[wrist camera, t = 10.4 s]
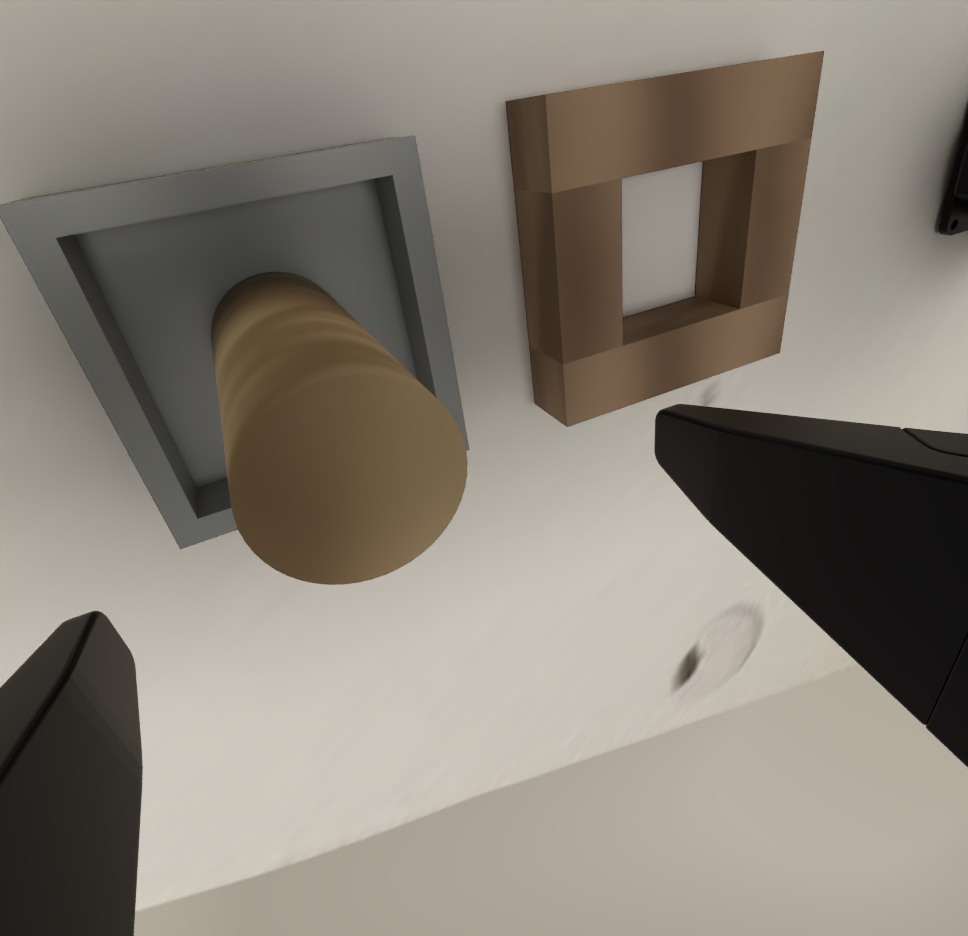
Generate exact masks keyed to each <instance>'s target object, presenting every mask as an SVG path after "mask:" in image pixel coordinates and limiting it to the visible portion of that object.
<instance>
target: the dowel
mask: <svg viewBox="0 0 968 936" xmlns="http://www.w3.org/2000/svg"><path fill="white" fill-rule="evenodd" d="M211 341H212V350H213V358H214V367H215V375H216V384H217V392H218V401H219V409H220V418H221V426H222V435H223V443H224V452H225V460H226V469H227V477H228V486H229V494H230V502H231V507H232V513H233V517H234V520H235V522H236V525H237V528H238V530H239V532H240V534H241V535H242V537H243V539H244V541H245V542H246V543H247V545H248V546H249V547H250V548H251V550H252V551H253V552H254V553H255V554H256V555H257V556H258V557H259V558H260V559H262V560H263V561H264V562H265V563H267V564H268V565H269V566H271V567H272V568H274V569H275V570H277V571H279V572H281V573H283V574H285V575H287V576H290V577H293V578H296V579H299V580H302V581H307V582H312V583H318V584H329V585H332V584H350V583H357V582H362V581H366V580H371V579H374V578H377V577H380V576H383V575H386V574H388V573H390V572H392V571H394V570H396V569H399V568H400V567H402V566H404V565H405V564H407V563H409V562H411V561H412V560H413V559H415V558H416V557H418V556H419V555H420V554H422V553H423V552H424V551H425V550H426V549H427V548H428V547H430V546H431V545H432V544H433V543H434V542H435V541H436V539H437V538H438V537H439V536H440V535H441V534H442V533H443V531H444V530H445V528H446V527H447V526H448V524H449V523H450V521H451V519H452V518H453V516H454V514H455V513H456V511H457V508H458V506H459V504H460V501H461V499H462V495H463V492H464V488H465V483H466V477H467V455H466V448H465V444H464V440H463V437H462V434H461V432H460V429H459V427H458V425H457V423H456V422H455V420H454V418H453V417H452V415H451V414H450V412H449V411H448V410H447V409H446V408H445V406H444V405H443V404H442V403H441V402H440V401H439V400H438V399H437V398H436V397H435V396H434V395H433V394H432V393H431V392H430V391H428V390H427V389H426V388H425V387H424V386H423V385H422V384H421V383H420V382H419V381H418V380H417V379H416V378H415V377H414V376H413V375H412V374H411V373H410V372H409V371H408V370H407V369H406V368H405V367H404V366H403V365H402V364H401V363H399V362H398V361H397V360H396V359H395V358H394V357H393V356H392V355H391V354H390V353H389V352H388V351H387V350H386V349H385V348H384V347H383V346H382V345H381V344H380V343H379V342H378V341H377V340H376V339H375V338H374V337H373V336H372V335H370V334H369V333H368V332H367V331H366V330H365V329H364V328H363V327H362V326H361V325H360V324H359V323H358V322H357V321H356V320H355V319H354V318H353V317H352V316H351V315H350V314H349V313H348V312H347V311H346V310H345V309H344V308H343V307H341V306H340V305H339V304H338V303H337V302H336V301H335V300H334V299H333V298H332V297H331V296H330V295H329V294H328V293H327V292H326V291H325V290H324V289H322V288H321V287H320V286H318V285H317V284H316V283H314V282H312V281H310V280H309V279H307V278H304V277H302V276H299V275H296V274H292V273H287V272H266V273H260V274H256V275H253V276H250V277H248V278H246V279H244V280H242V281H240V282H239V283H237V284H236V285H234V286H233V287H232V288H231V289H230V290H229V291H228V292H227V293H226V294H225V295H224V296H223V298H222V299H221V301H220V302H219V304H218V306H217V308H216V310H215V313H214V316H213V320H212V326H211Z"/></svg>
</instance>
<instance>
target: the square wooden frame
mask: <svg viewBox="0 0 968 936" xmlns="http://www.w3.org/2000/svg"><path fill="white" fill-rule="evenodd" d="M823 56H824V51H820V52H814V53H807V54H801V55H795V56H788V57H782V58H775V59H769V60H763V61H756V62H750V63H744V64H737V65H731V66H724V67H718V68H712V69H705V70H699V71H693V72H686V73H680V74H674V75H667V76H661V77H654V78H648V79H642V80H635V81H629V82H623V83H616V84H610V85H603V86H597V87H591V88H584V89H578V90H572V91H565V92H559V93H553V94H546V95H540V96H535V97H529V98H523V99H517V100H512V101H506V107H507V117H508V128H509V138H510V148H511V159H512V169H513V179H514V190H515V200H516V210H517V221H518V231H519V241H520V252H521V262H522V273H523V283H524V293H525V304H526V314H527V324H528V335H529V345H530V355H531V366H532V376H533V386H534V397H535V404H536V405H537V406H539V407H540V408H542V409H543V410H544V411H546V412H547V413H548V414H550V415H551V416H553V417H554V418H555V419H557V420H558V421H559V422H561V423H562V424H564V425H565V426H566V427H569V426H572V425H575V424H578V423H580V422H583V421H586V420H589V419H592V418H595V417H598V416H600V415H603V414H606V413H609V412H612V411H615V410H618V409H620V408H623V407H626V406H629V405H632V404H635V403H638V402H640V401H643V400H646V399H649V398H652V397H655V396H658V395H660V394H663V393H666V392H669V391H672V390H675V389H678V388H680V387H683V386H686V385H689V384H692V383H695V382H698V381H700V380H703V379H706V378H709V377H712V376H715V375H718V374H720V373H723V372H726V371H729V370H732V369H735V368H738V367H740V366H743V365H746V364H749V363H752V362H755V361H758V360H760V359H763V358H766V357H769V356H772V355H775V354H778V353H780V348H781V341H782V334H783V327H784V321H785V314H786V307H787V300H788V293H789V287H790V280H791V273H792V266H793V259H794V253H795V246H796V239H797V232H798V226H799V219H800V212H801V205H802V198H803V192H804V185H805V178H806V171H807V164H808V158H809V151H810V144H811V137H812V130H813V124H814V117H815V110H816V103H817V97H818V90H819V83H820V76H821V69H822V63H823ZM701 161H703V177H702V193H701V209H700V226H699V242H698V258H697V275H696V291H695V297H692V298H688V299H685V300H682V301H678V302H675V303H672V304H668V305H665V306H661V307H658V308H655V309H651V310H648V311H645V312H641V313H638V314H635V315H631V316H628V317H624V318H622V178H626V177H630V176H635V175H640V174H645V173H649V172H654V171H659V170H663V169H668V168H673V167H677V166H682V165H687V164H691V163H696V162H701Z"/></svg>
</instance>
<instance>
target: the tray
mask: <svg viewBox="0 0 968 936" xmlns="http://www.w3.org/2000/svg"><path fill="white" fill-rule="evenodd" d="M0 218H1V220H2V222H3V224H4V226H5V227H6V229H7V231H8V233H9V235H10V237H11V238H12V240H13V242H14V244H15V246H16V248H17V250H18V251H19V253H20V255H21V257H22V259H23V261H24V262H25V264H26V266H27V268H28V270H29V272H30V273H31V275H32V277H33V279H34V281H35V283H36V284H37V286H38V288H39V290H40V292H41V294H42V296H43V297H44V299H45V301H46V303H47V305H48V307H49V308H50V310H51V312H52V314H53V316H54V318H55V319H56V321H57V323H58V325H59V327H60V329H61V331H62V332H63V334H64V336H65V338H66V340H67V342H68V343H69V345H70V347H71V349H72V351H73V353H74V354H75V356H76V358H77V360H78V362H79V364H80V365H81V367H82V369H83V371H84V373H85V375H86V377H87V378H88V380H89V382H90V384H91V386H92V388H93V389H94V391H95V393H96V395H97V397H98V399H99V400H100V402H101V404H102V406H103V408H104V410H105V411H106V413H107V415H108V417H109V419H110V421H111V423H112V424H113V426H114V428H115V430H116V432H117V434H118V435H119V437H120V439H121V441H122V443H123V445H124V446H125V448H126V450H127V452H128V454H129V456H130V458H131V459H132V461H133V463H134V465H135V467H136V469H137V470H138V472H139V474H140V476H141V478H142V480H143V481H144V483H145V485H146V487H147V489H148V491H149V492H150V494H151V496H152V498H153V500H154V502H155V504H156V505H157V507H158V509H159V511H160V513H161V515H162V516H163V518H164V520H165V522H166V524H167V526H168V527H169V529H170V531H171V533H172V535H173V537H174V538H175V540H176V542H177V544H178V546H179V548H180V549H182V548H185V547H188V546H191V545H194V544H197V543H200V542H203V541H206V540H208V539H211V538H214V537H217V536H220V535H223V534H226V533H229V532H232V531H235V530H238V528H237V525H236V522H235V520H234V517H233V513H232V507H231V502H230V494H229V486H228V477H227V469H226V460H225V452H224V443H223V435H222V426H221V418H220V409H219V401H218V392H217V384H216V375H215V367H214V358H213V350H212V341H211V326H212V320H213V316H214V313H215V310H216V308H217V306H218V304H219V302H220V301H221V299H222V298H223V296H224V295H225V294H226V293H227V292H228V291H229V290H230V289H231V288H232V287H233V286H234V285H236V284H237V283H239V282H240V281H242V280H244V279H246V278H248V277H250V276H253V275H256V274H260V273H266V272H287V273H292V274H296V275H299V276H302V277H304V278H307V279H309V280H310V281H312V282H314V283H316V284H317V285H318V286H320V287H321V288H322V289H324V290H325V291H326V292H327V293H328V294H329V295H330V296H331V297H332V298H333V299H334V300H335V301H336V302H337V303H338V304H339V305H340V306H341V307H343V308H344V309H345V310H346V311H347V312H348V313H349V314H350V315H351V316H352V317H353V318H354V319H355V320H356V321H357V322H358V323H359V324H360V325H361V326H362V327H363V328H364V329H365V330H366V331H367V332H368V333H369V334H370V335H372V336H373V337H374V338H375V339H376V340H377V341H378V342H379V343H380V344H381V345H382V346H383V347H384V348H385V349H386V350H387V351H388V352H389V353H390V354H391V355H392V356H393V357H394V358H395V359H396V360H397V361H398V362H399V363H401V364H402V365H403V366H404V367H405V368H406V369H407V370H408V371H409V372H410V373H411V374H412V375H413V376H414V377H415V378H416V379H417V380H418V381H419V382H420V383H421V384H422V385H423V386H424V387H425V388H426V389H427V390H428V391H430V392H431V393H432V394H433V395H434V396H435V397H436V398H437V399H438V400H439V401H440V402H441V403H442V404H443V405H444V406H445V408H446V409H447V410H448V411H449V412H450V414H451V415H452V417H453V418H454V420H455V422H456V423H457V425H458V427H459V429H460V432H461V434H462V437H463V440H464V444H465V448H466V451H467V450H469V446H468V440H467V434H466V428H465V423H464V417H463V411H462V405H461V399H460V394H459V388H458V382H457V376H456V371H455V365H454V359H453V353H452V347H451V342H450V336H449V330H448V324H447V318H446V313H445V307H444V301H443V295H442V290H441V284H440V278H439V272H438V266H437V261H436V255H435V249H434V243H433V237H432V232H431V226H430V220H429V214H428V209H427V203H426V197H425V191H424V185H423V180H422V174H421V168H420V162H419V156H418V151H417V145H416V139H415V136H406V137H395V138H386V139H380V140H374V141H368V142H362V143H356V144H350V145H344V146H338V147H332V148H326V149H320V150H314V151H308V152H302V153H296V154H290V155H284V156H278V157H272V158H266V159H261V160H255V161H249V162H243V163H237V164H231V165H225V166H219V167H213V168H207V169H201V170H195V171H189V172H183V173H177V174H171V175H165V176H159V177H153V178H147V179H141V180H135V181H129V182H123V183H117V184H111V185H105V186H99V187H93V188H87V189H81V190H75V191H69V192H63V193H57V194H51V195H45V196H39V197H33V198H27V199H21V200H17V201H13V202H9V203H5V204H1V205H0Z"/></svg>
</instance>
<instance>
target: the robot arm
mask: <svg viewBox="0 0 968 936" xmlns="http://www.w3.org/2000/svg"><path fill="white" fill-rule="evenodd" d="M967 230H968V120H967V124H966V128H965V131H964V135H963V139H962V143H961V146H960V150H959V154H958V157H957V161H956V165H955V169H954V172H953V176H952V180H951V183H950V187H949V191H948V195H947V198H946V202H945V206H944V209H943V213H942V217H941V220H940V224H939V233H940V234H943V235H954V234H957V233H960V232H963V231H967ZM655 456H656V459H657V461H658V463H659V464H660V466H661V467H662V468H663V469H664V470H665V472H666V473H667V474H668V475H669V476H670V477H671V479H672V480H673V481H674V482H675V483H676V484H677V486H678V487H679V488H680V489H681V490H682V491H683V493H684V494H685V495H686V496H687V497H688V498H689V499H690V501H691V502H692V503H693V504H694V505H695V506H696V508H697V509H698V510H699V511H700V512H701V513H702V515H703V516H704V517H705V518H706V519H707V520H708V521H709V522H710V523H711V524H712V525H713V526H714V527H715V528H716V529H717V530H718V531H719V532H720V533H721V534H722V535H723V536H724V537H725V538H726V539H727V540H728V541H729V542H730V543H732V544H733V545H734V546H735V547H736V548H737V549H738V550H739V551H740V552H741V553H742V554H743V555H744V556H745V557H746V558H747V559H748V560H750V561H751V562H752V563H753V564H754V565H755V566H756V567H757V568H758V569H759V570H760V571H761V572H762V573H763V574H764V575H765V576H766V577H767V578H769V579H770V580H771V581H772V582H773V583H774V584H775V585H776V586H777V587H778V588H779V589H780V590H781V591H782V592H783V593H784V594H785V595H787V596H788V597H789V598H790V599H791V600H792V601H793V602H794V603H795V604H796V605H797V606H798V607H799V608H800V609H801V610H802V611H803V612H805V613H806V614H807V615H808V616H809V617H810V618H811V619H812V620H813V621H814V622H815V623H816V624H817V625H818V626H819V627H820V628H821V629H823V630H824V631H825V632H826V633H827V634H828V635H829V636H830V637H831V638H832V639H833V640H834V641H835V642H836V643H837V644H838V645H839V646H840V647H842V648H843V649H844V650H845V651H846V652H847V653H848V654H849V655H850V656H851V657H852V658H853V659H854V660H855V661H856V662H857V663H858V664H860V665H861V666H862V667H863V668H864V669H865V670H866V671H867V672H868V673H869V674H870V675H871V676H872V677H873V678H874V679H875V680H876V681H878V682H879V683H880V684H881V685H882V686H883V687H884V688H885V689H886V690H887V691H888V692H889V693H890V694H891V695H892V696H893V697H894V698H895V699H897V700H898V701H899V702H900V703H901V704H902V705H903V706H904V707H905V708H906V709H907V710H908V711H909V712H910V713H911V714H912V715H913V716H915V717H916V718H917V719H918V720H919V721H920V722H921V723H922V724H924V725H926V728H927V729H928V730H929V731H930V732H931V733H932V734H933V735H934V736H935V737H936V738H937V739H938V740H940V742H941V743H943V744H944V745H945V746H946V747H947V748H948V749H949V750H950V751H951V752H952V753H953V754H954V755H955V756H956V757H957V758H958V759H960V760H961V761H962V762H963V763H964V764H965V765H966V766H967V767H968V434H962V433H952V432H941V431H931V430H921V429H912V428H904V429H901V428H899V427H892V426H883V425H874V424H864V423H855V422H845V421H836V420H827V419H817V418H808V417H799V416H789V415H780V414H770V413H761V412H752V411H742V410H733V409H724V408H714V407H705V406H695V405H686V404H677V405H673V406H671V407H668V408H665V409H662V410H660V411H659V412H658V413H657V416H656V419H655ZM142 769H143V766H142V747H141V734H140V721H139V708H138V695H137V682H136V669H135V663H134V659H133V656H132V654H131V651H130V650H129V648H128V647H127V645H126V644H125V642H124V641H123V639H122V638H121V637H120V635H119V634H118V632H117V631H116V629H115V628H114V626H113V625H112V623H111V622H110V621H109V619H108V618H107V616H106V615H104V614H103V613H102V612H99V611H92V612H89V613H86V614H83V615H81V616H78V617H75V618H72V619H69V620H67V621H65V622H63V623H62V624H61V625H60V626H59V627H58V628H57V629H56V630H55V631H54V632H53V633H52V634H51V635H50V636H49V637H48V639H47V640H46V641H45V642H44V643H43V644H42V645H41V646H40V647H39V648H38V649H37V650H36V651H35V652H34V653H33V654H32V655H31V656H30V657H29V658H28V659H27V660H26V661H25V663H24V664H23V665H22V666H21V667H20V668H19V669H18V670H17V671H16V672H15V673H14V674H13V675H12V676H11V677H10V678H9V679H8V680H7V681H6V682H5V683H4V684H3V685H2V686H1V688H0V936H134V920H135V919H134V918H135V903H136V885H137V867H138V849H139V831H140V814H141V796H142Z"/></svg>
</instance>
